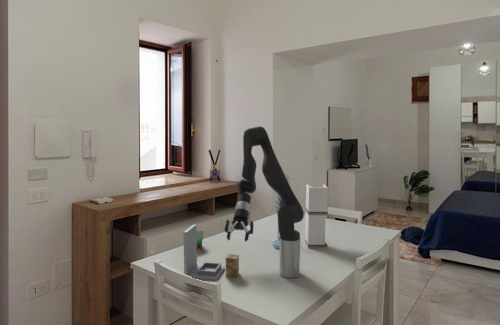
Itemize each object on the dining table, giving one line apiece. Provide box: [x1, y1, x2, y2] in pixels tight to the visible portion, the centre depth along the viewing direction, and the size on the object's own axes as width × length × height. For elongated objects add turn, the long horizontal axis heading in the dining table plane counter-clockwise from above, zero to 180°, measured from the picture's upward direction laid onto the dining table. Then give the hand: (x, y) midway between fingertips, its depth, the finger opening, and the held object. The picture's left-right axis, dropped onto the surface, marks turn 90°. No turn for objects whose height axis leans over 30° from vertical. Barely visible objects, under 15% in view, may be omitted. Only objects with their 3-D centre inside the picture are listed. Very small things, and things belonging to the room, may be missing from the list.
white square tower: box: [304, 184, 329, 249], centre depth 205 cm, size 11×11×35 cm
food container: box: [182, 229, 205, 250], centre depth 200 cm, size 12×6×10 cm, turn 105°
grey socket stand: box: [183, 224, 225, 281], centre depth 165 cm, size 16×13×21 cm
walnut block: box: [225, 253, 240, 279], centre depth 163 cm, size 5×6×9 cm
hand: (237, 240), depth 172 cm, fingers open, 8 cm apart
